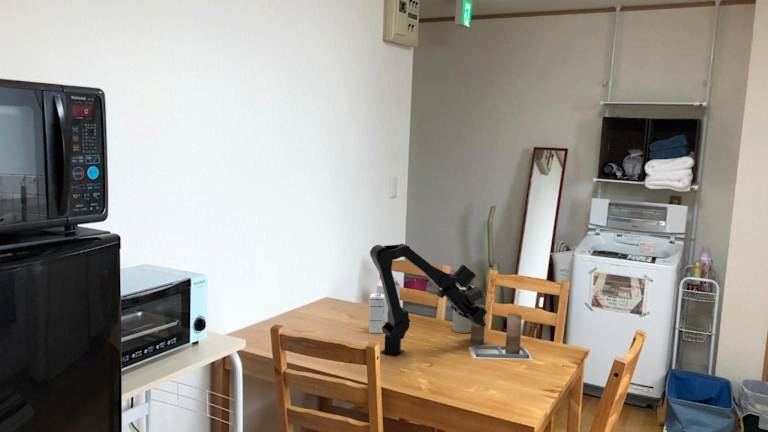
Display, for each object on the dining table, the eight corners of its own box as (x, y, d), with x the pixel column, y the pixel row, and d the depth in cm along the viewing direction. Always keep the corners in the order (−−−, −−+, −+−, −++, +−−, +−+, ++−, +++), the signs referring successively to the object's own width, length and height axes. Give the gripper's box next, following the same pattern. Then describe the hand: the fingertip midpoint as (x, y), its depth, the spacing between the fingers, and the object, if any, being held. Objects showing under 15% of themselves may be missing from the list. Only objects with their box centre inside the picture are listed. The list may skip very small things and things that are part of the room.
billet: (480, 345, 235) (483, 308, 233) (468, 343, 237) (470, 306, 236) (485, 342, 239) (487, 305, 238) (473, 339, 242) (475, 303, 240)
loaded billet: (517, 356, 223) (519, 318, 222) (503, 354, 226) (505, 315, 224) (521, 353, 228) (523, 314, 226) (508, 350, 230) (510, 312, 229)
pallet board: (472, 360, 221) (473, 354, 221) (468, 349, 233) (468, 343, 233) (533, 362, 221) (533, 356, 221) (525, 351, 233) (525, 345, 233)
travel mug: (449, 331, 255) (451, 287, 253) (456, 326, 262) (458, 283, 260) (468, 334, 251) (470, 290, 249) (475, 329, 258) (477, 286, 256)
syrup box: (383, 333, 249) (384, 297, 247) (368, 332, 249) (369, 296, 247) (383, 329, 255) (384, 293, 253) (369, 328, 255) (370, 293, 253)
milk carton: (389, 323, 263) (390, 278, 261) (375, 320, 267) (376, 275, 265) (399, 320, 268) (400, 275, 266) (385, 316, 273) (387, 273, 270)
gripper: (483, 286, 225) (508, 314, 231) (459, 275, 243) (483, 302, 248) (462, 309, 224) (488, 337, 229) (439, 296, 241) (464, 323, 246)
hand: (481, 324), depth 238 cm, fingers closed on billet, 5 cm apart
